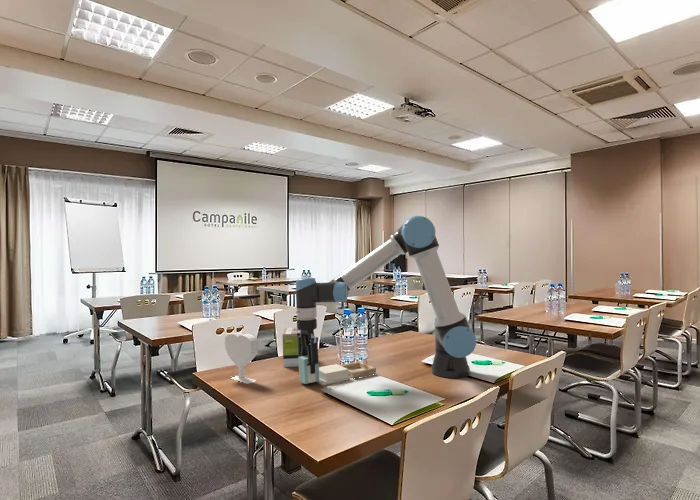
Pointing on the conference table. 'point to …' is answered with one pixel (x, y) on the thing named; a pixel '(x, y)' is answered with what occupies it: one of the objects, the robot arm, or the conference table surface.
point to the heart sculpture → (241, 352)
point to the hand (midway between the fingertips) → (308, 379)
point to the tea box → (290, 347)
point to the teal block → (306, 369)
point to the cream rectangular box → (332, 374)
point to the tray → (359, 370)
